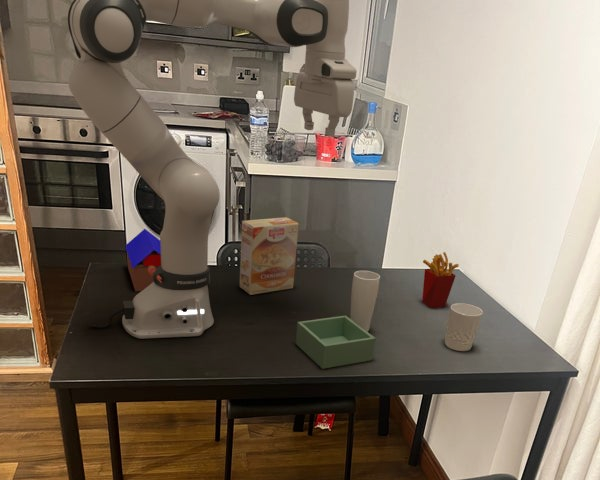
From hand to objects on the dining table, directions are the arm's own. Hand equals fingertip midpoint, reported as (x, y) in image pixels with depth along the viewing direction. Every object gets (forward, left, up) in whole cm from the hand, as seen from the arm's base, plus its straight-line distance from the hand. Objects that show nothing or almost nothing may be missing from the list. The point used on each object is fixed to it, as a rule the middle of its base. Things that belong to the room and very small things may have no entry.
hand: (318, 132), depth 142 cm
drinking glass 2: (+8, -17, -45) cm, 49 cm away
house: (-33, +33, -45) cm, 65 cm away
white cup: (+28, -33, -45) cm, 62 cm away
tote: (-5, -26, -45) cm, 52 cm away
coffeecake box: (-3, +17, -45) cm, 48 cm away
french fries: (+39, -7, -45) cm, 60 cm away
